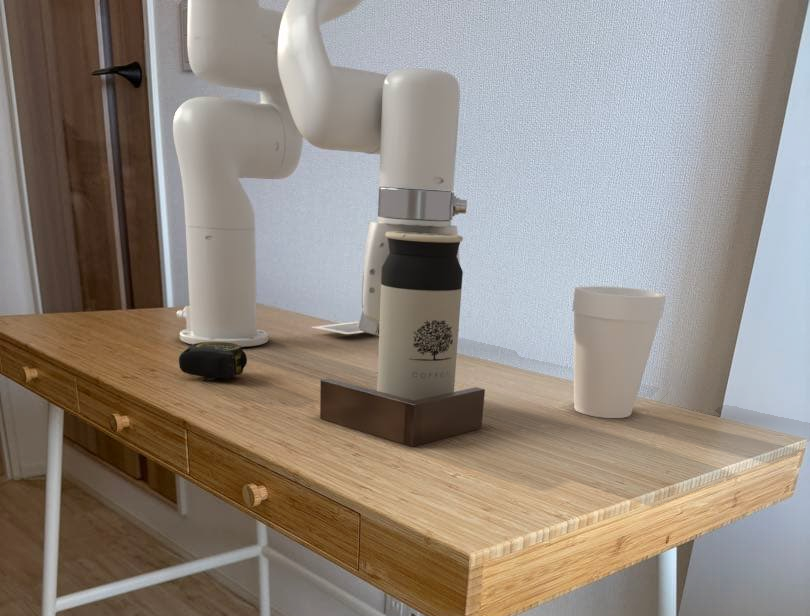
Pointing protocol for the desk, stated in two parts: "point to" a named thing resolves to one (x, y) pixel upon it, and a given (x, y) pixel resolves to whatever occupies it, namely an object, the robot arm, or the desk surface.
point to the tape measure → (213, 360)
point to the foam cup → (612, 346)
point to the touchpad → (342, 328)
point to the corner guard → (401, 412)
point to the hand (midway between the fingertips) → (405, 387)
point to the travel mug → (419, 314)
